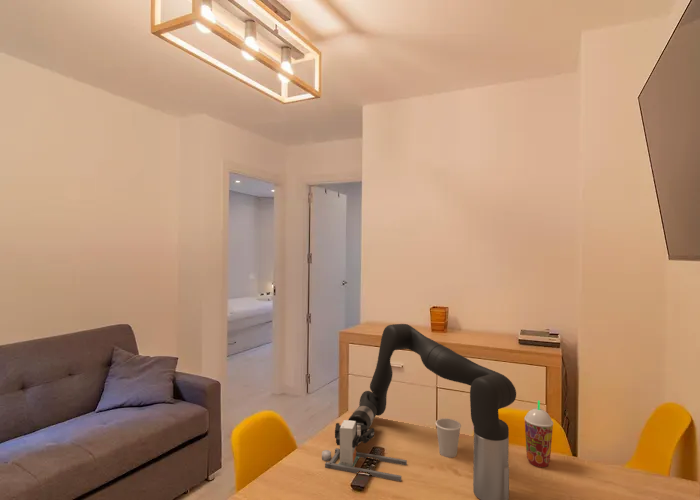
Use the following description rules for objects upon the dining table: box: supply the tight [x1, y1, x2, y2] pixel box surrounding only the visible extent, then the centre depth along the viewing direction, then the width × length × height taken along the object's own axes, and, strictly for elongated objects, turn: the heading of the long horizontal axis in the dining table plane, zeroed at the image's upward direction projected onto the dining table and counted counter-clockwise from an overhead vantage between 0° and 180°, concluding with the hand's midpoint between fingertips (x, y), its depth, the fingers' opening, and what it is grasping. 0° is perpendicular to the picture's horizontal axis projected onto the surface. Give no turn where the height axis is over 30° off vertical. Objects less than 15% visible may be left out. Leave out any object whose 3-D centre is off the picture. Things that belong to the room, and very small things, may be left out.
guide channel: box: [321, 447, 408, 483], centre depth 127 cm, size 27×10×2 cm, turn 72°
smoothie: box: [524, 400, 554, 468], centre depth 128 cm, size 8×8×20 cm
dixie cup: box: [435, 417, 462, 459], centre depth 134 cm, size 8×8×10 cm
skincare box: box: [339, 419, 357, 466], centre depth 128 cm, size 6×4×12 cm
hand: (345, 443), depth 126 cm, fingers closed on skincare box, 4 cm apart
